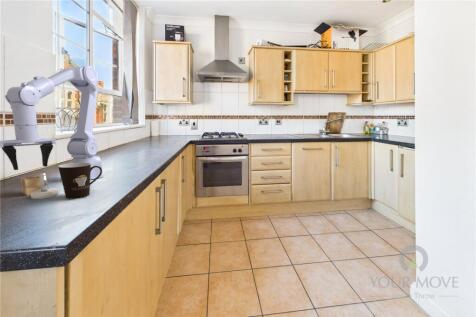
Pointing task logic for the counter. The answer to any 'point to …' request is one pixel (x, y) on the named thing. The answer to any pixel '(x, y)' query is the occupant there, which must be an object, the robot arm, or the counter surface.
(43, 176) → the silver metal cylinder
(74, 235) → the counter surface
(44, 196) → the lacing stand
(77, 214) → the counter surface
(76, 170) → the coffee mug
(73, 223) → the counter surface
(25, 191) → the hollow wooden cube
